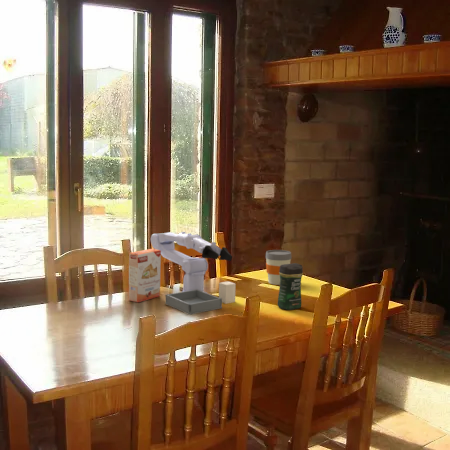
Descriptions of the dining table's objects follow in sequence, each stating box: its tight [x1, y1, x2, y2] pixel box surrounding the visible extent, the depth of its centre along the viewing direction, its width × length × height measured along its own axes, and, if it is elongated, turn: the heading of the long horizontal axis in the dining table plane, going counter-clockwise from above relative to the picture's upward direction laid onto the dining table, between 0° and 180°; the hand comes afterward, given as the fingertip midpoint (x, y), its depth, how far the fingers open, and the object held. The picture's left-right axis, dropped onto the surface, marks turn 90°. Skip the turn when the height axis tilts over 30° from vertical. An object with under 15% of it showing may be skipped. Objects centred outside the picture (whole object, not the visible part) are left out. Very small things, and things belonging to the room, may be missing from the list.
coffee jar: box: [277, 263, 304, 311], centre depth 248 cm, size 10×8×19 cm
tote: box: [165, 289, 223, 315], centre depth 249 cm, size 18×16×4 cm
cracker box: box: [128, 248, 162, 304], centre depth 258 cm, size 14×6×21 cm, turn 143°
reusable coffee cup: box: [265, 249, 293, 286], centre depth 291 cm, size 12×13×15 cm
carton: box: [218, 281, 237, 304], centre depth 257 cm, size 5×5×8 cm
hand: (224, 257), depth 251 cm, fingers open, 7 cm apart
